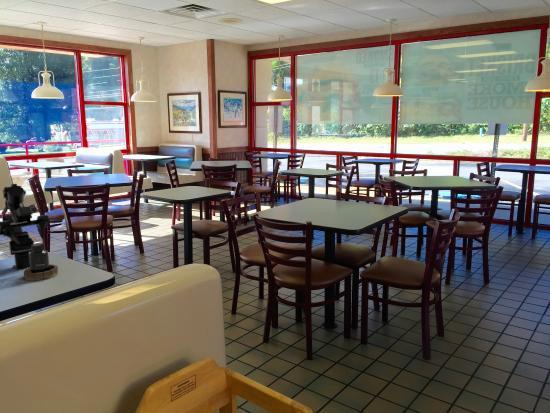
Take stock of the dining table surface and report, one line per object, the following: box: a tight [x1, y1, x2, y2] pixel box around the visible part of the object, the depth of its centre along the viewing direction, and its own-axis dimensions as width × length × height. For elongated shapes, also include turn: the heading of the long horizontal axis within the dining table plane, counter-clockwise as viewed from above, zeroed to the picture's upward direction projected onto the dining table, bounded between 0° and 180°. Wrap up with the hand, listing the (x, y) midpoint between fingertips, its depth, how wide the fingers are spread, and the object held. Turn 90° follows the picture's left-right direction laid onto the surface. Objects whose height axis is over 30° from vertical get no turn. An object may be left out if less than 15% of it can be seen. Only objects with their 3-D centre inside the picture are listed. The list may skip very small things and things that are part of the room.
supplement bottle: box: [29, 243, 50, 273], centre depth 186 cm, size 7×7×12 cm
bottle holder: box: [22, 264, 59, 282], centre depth 187 cm, size 12×12×3 cm
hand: (31, 240), depth 189 cm, fingers open, 9 cm apart
